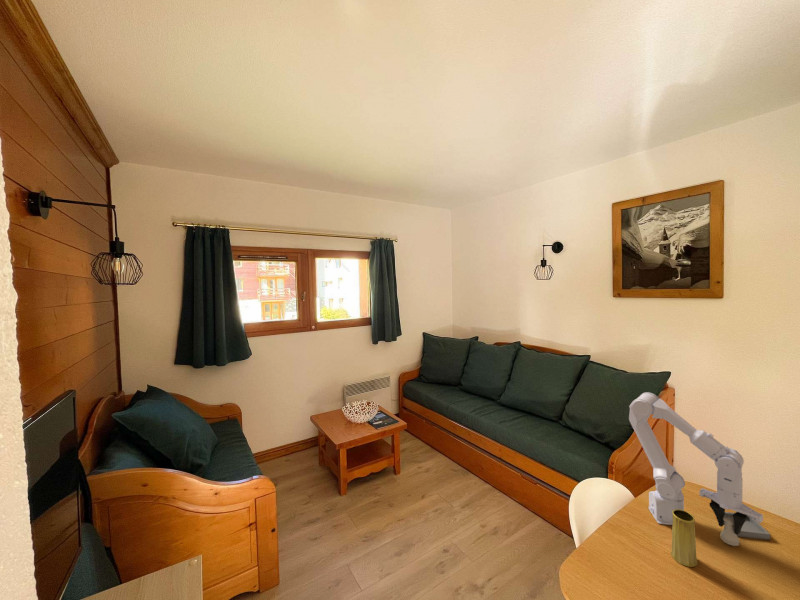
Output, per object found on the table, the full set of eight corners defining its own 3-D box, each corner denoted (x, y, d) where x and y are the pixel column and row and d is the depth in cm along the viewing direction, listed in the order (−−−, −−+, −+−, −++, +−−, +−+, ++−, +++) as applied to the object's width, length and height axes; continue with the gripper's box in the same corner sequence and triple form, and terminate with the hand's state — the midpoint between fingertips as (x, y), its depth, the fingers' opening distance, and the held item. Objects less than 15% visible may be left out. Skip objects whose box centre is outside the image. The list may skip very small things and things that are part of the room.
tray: (735, 536, 108) (735, 530, 108) (717, 516, 116) (717, 510, 116) (770, 540, 105) (770, 534, 105) (749, 519, 114) (749, 514, 114)
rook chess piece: (744, 546, 103) (743, 522, 102) (728, 547, 103) (728, 523, 103) (730, 535, 107) (730, 512, 107) (716, 535, 108) (715, 512, 107)
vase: (691, 552, 103) (690, 509, 102) (701, 569, 97) (701, 524, 96) (667, 548, 105) (666, 506, 104) (676, 565, 99) (675, 520, 98)
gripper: (694, 480, 109) (694, 519, 110) (756, 507, 96) (755, 550, 97) (705, 473, 112) (705, 511, 113) (766, 498, 99) (765, 540, 100)
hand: (729, 528), depth 105 cm, fingers closed on rook chess piece, 3 cm apart
